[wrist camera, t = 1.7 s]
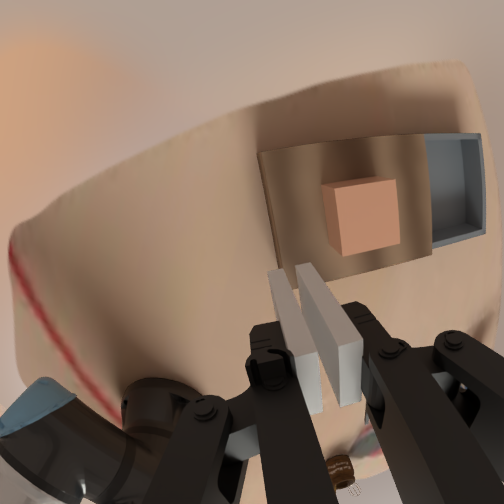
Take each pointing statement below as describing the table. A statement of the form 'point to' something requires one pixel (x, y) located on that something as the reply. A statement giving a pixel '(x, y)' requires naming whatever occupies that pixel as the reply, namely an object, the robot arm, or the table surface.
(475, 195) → the box
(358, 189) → the salmon orange block
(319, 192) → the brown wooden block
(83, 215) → the table surface
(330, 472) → the utensil holder
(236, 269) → the table surface
